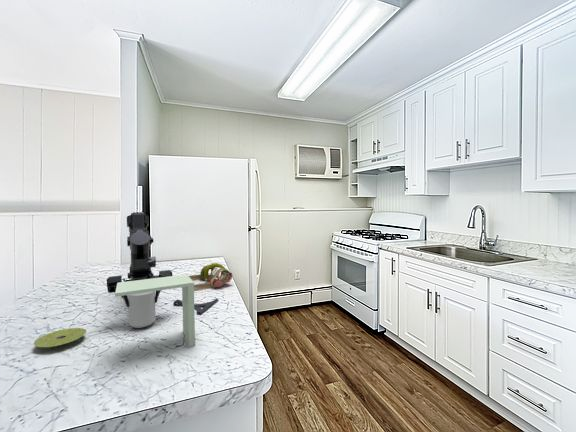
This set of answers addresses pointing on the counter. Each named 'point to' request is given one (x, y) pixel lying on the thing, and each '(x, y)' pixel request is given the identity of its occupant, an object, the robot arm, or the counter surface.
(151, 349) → the counter surface
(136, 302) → the can
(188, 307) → the shelf
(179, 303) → the bracket
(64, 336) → the olive green disc
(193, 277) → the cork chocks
